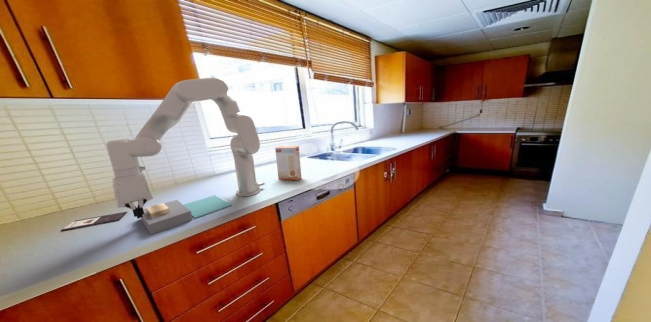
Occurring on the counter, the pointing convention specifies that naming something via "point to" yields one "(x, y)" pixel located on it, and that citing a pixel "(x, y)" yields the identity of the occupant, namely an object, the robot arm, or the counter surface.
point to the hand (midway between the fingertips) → (139, 216)
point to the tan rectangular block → (158, 210)
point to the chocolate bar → (94, 221)
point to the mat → (206, 206)
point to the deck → (167, 217)
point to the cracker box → (288, 162)
